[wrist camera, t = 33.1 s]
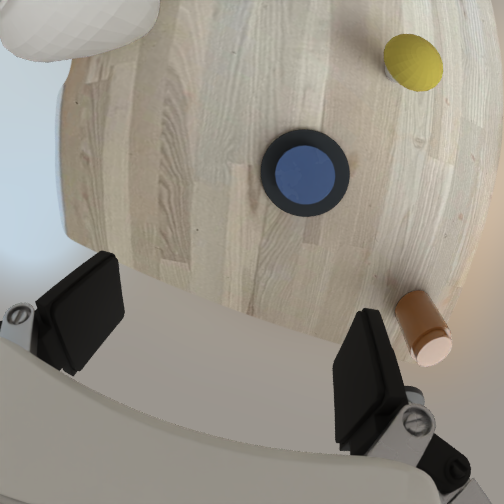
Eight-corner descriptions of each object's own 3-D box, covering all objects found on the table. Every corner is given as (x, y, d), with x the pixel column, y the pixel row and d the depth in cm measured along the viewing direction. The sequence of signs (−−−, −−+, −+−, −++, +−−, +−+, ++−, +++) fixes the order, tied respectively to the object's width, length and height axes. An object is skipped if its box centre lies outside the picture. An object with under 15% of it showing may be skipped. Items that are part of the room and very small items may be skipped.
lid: (281, 139, 30) (280, 140, 29) (338, 152, 30) (340, 153, 28) (271, 194, 33) (270, 197, 32) (326, 206, 33) (327, 210, 31)
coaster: (337, 223, 34) (338, 224, 34) (255, 206, 35) (254, 207, 35) (356, 141, 29) (357, 141, 29) (268, 122, 30) (267, 122, 30)
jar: (420, 325, 38) (439, 369, 29) (388, 321, 39) (404, 368, 29) (436, 293, 35) (463, 335, 26) (404, 287, 36) (428, 331, 27)
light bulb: (402, 46, 22) (434, 22, 13) (424, 91, 24) (463, 82, 15) (360, 56, 25) (381, 30, 16) (383, 103, 27) (414, 93, 18)
